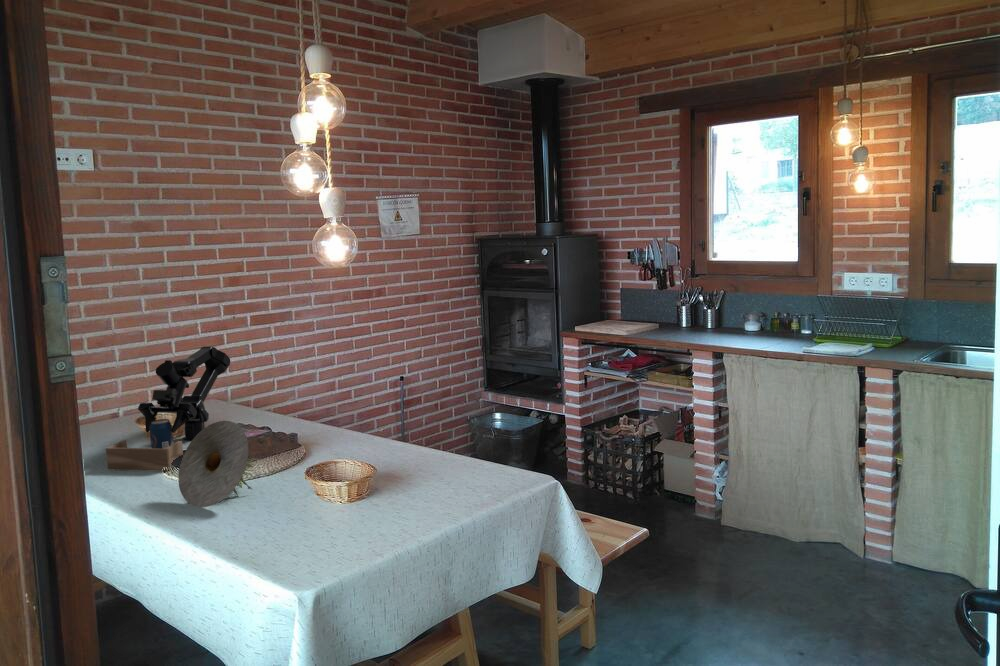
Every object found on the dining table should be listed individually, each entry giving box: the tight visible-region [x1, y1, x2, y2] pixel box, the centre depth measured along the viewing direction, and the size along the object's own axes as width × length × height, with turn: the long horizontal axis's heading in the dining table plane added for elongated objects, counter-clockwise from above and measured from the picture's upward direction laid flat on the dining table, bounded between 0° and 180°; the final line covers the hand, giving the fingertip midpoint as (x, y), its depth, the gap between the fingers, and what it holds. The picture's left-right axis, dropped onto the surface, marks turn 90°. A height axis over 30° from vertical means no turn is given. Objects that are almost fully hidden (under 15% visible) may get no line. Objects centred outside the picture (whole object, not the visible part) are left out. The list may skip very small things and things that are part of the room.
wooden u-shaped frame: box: [105, 439, 184, 472], centre depth 259 cm, size 9×21×7 cm, turn 82°
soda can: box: [149, 418, 175, 449], centre depth 269 cm, size 7×7×12 cm
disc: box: [177, 420, 264, 508], centre depth 231 cm, size 25×18×25 cm
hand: (159, 432), depth 267 cm, fingers open, 9 cm apart
